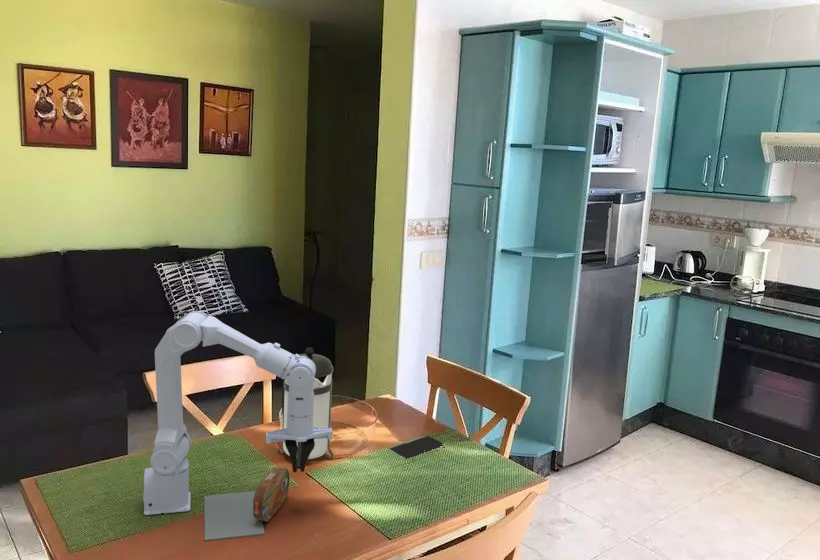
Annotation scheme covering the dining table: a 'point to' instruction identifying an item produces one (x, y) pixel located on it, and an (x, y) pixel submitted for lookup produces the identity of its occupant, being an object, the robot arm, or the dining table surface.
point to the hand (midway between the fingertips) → (298, 470)
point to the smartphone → (416, 447)
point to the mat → (230, 516)
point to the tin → (270, 494)
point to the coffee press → (320, 405)
